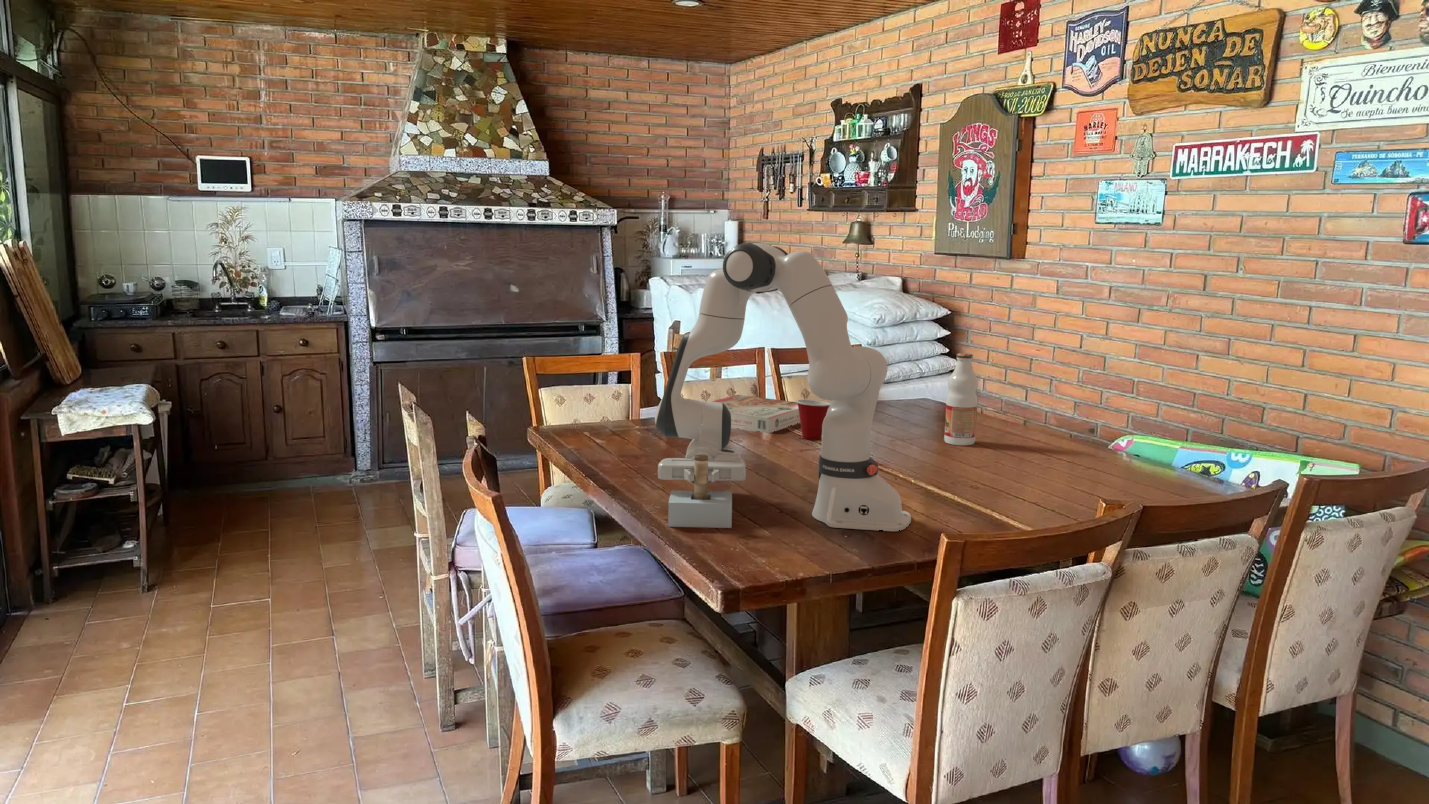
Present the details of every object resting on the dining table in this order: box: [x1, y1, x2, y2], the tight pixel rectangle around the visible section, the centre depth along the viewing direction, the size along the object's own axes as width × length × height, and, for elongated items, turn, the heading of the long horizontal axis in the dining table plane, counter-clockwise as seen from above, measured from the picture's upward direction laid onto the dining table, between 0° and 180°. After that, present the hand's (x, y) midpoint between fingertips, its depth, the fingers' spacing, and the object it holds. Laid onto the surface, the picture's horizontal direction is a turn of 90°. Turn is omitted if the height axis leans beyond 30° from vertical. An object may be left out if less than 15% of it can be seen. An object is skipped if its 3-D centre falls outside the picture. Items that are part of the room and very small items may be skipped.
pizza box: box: [702, 394, 800, 434], centre depth 333 cm, size 32×5×32 cm
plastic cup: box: [795, 399, 831, 441], centre depth 305 cm, size 11×11×12 cm
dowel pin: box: [693, 454, 709, 500], centre depth 217 cm, size 3×3×12 cm
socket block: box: [667, 490, 733, 529], centre depth 218 cm, size 14×10×6 cm
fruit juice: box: [943, 352, 979, 447], centre depth 300 cm, size 9×9×28 cm
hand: (700, 478), depth 216 cm, fingers closed on dowel pin, 3 cm apart
